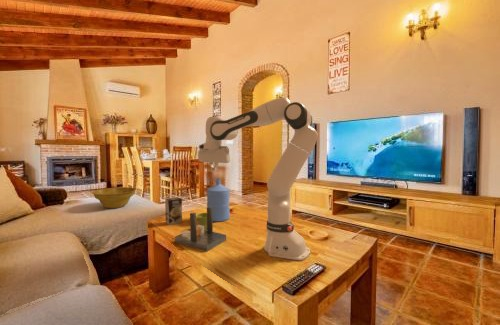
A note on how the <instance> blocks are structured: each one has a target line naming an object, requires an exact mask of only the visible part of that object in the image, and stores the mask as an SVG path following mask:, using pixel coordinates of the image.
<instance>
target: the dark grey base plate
mask: <svg viewBox="0 0 500 325" xmlns="http://www.w3.org/2000/svg"><path fill="white" fill-rule="evenodd" d="M196 228H199V229H201V234H200V235H198V236H197V240H196V241H191V234H190V230H188V229H185V230H183V231H182V232H181V233H180V234H178V235H175V236H174V243H176V244H180V245H183V246H187V247H190V248H194V249H197V250H201V251H205V252H208V251H210V250H212V249H214V248H216V247H217V246H219V245H221V244H222V243H224V242H226V241H227V234H226V233H225V234H224V233H219V232H216V231H213V232H212V233H207V230H204V226H202V225H199V224H196Z"/></svg>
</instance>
